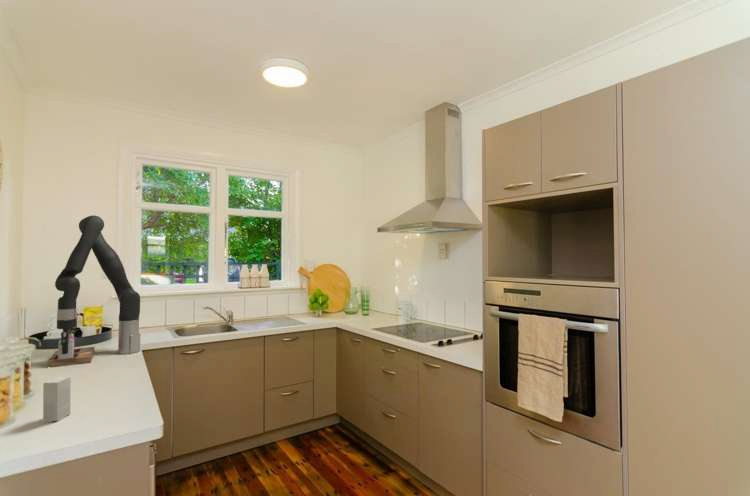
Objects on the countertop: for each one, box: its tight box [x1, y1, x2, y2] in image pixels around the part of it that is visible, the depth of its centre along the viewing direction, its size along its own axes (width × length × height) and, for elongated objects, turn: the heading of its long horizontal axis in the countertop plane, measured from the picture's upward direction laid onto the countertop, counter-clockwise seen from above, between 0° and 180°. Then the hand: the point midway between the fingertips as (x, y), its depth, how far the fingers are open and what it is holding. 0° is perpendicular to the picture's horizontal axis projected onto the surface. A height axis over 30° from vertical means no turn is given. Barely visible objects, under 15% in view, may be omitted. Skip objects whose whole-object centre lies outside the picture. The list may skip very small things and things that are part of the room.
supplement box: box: [57, 337, 76, 359], centre depth 188 cm, size 6×6×12 cm
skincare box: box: [42, 376, 72, 423], centre depth 122 cm, size 6×4×12 cm
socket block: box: [47, 346, 95, 369], centre depth 194 cm, size 25×16×3 cm, turn 32°
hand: (66, 352), depth 188 cm, fingers open, 8 cm apart
